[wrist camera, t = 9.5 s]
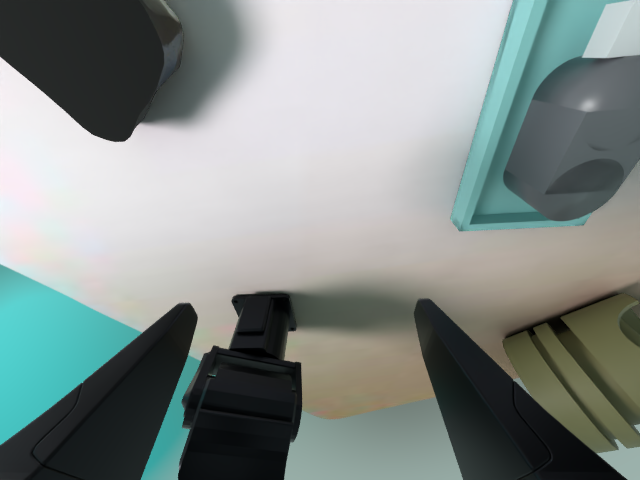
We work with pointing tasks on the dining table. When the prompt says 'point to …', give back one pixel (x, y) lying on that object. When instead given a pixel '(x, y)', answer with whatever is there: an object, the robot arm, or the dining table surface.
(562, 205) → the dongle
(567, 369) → the piston
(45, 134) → the dining table surface
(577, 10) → the tray
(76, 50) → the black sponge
